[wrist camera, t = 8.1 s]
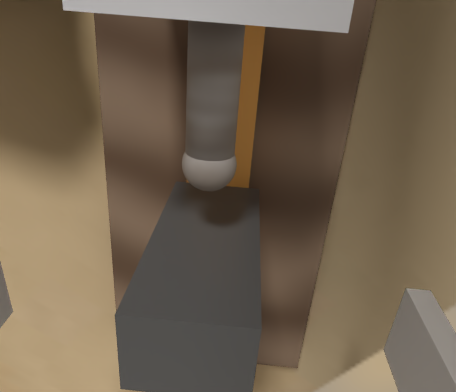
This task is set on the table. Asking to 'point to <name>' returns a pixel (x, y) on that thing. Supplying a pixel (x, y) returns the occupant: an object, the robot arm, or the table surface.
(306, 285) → the board
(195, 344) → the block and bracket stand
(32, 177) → the table surface
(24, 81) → the table surface
